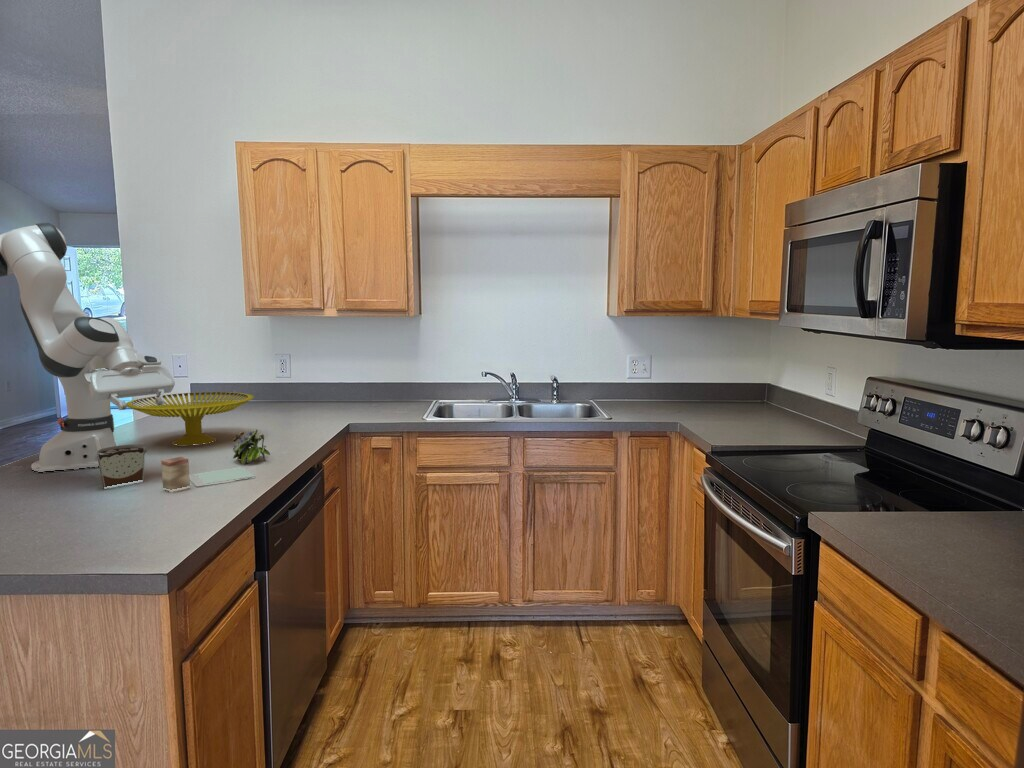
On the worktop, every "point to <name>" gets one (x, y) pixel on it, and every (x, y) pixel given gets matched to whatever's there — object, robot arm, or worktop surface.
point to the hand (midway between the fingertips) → (142, 406)
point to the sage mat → (224, 475)
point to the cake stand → (191, 412)
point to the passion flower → (244, 444)
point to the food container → (121, 464)
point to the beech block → (175, 473)
